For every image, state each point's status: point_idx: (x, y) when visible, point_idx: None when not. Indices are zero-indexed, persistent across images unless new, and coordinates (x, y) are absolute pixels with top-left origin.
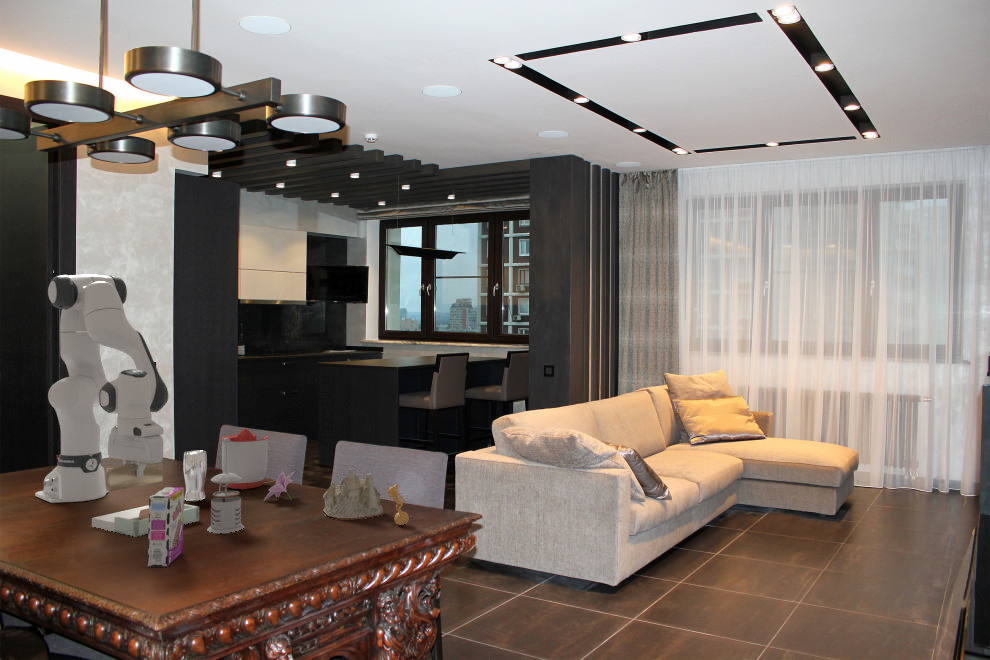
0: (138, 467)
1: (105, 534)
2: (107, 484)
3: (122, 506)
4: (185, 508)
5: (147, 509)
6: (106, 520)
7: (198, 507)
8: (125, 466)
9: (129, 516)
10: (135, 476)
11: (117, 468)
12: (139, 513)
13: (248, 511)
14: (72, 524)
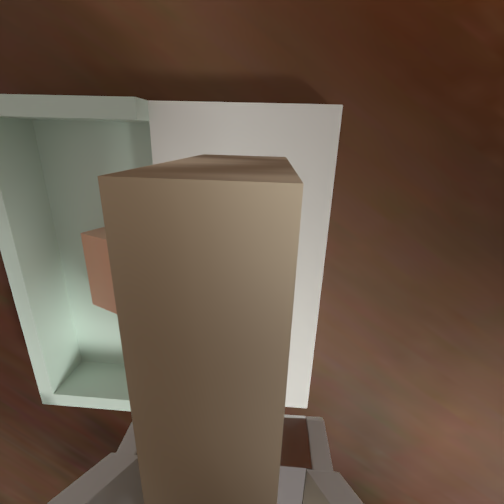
0: (72, 499)
1: (164, 58)
2: (261, 159)
3: (494, 385)
4: (109, 388)
5: None
6: (227, 111)
7: (42, 399)
8: (175, 451)
9: None
10: None
11: (119, 303)
12: None
13: None
14: (466, 87)
